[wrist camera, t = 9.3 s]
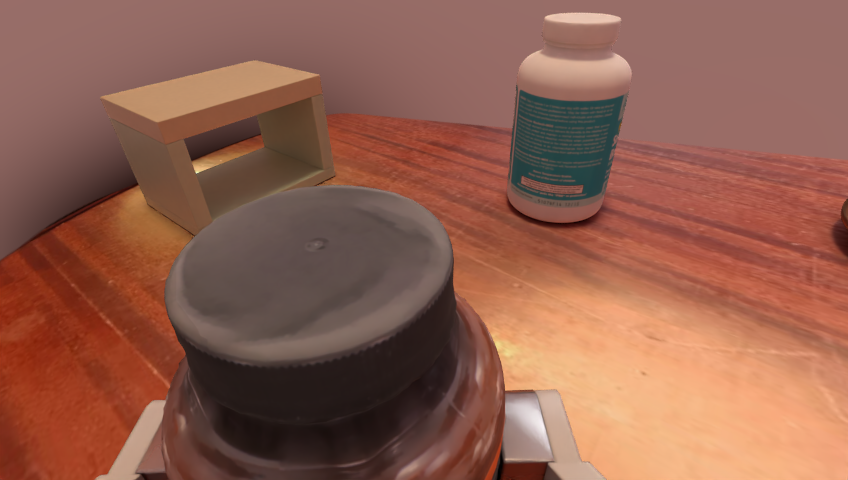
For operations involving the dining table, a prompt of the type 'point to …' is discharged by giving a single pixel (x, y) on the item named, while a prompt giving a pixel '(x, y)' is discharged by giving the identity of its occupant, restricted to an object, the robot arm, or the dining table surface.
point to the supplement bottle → (328, 347)
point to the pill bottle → (567, 118)
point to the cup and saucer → (845, 214)
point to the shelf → (235, 176)
